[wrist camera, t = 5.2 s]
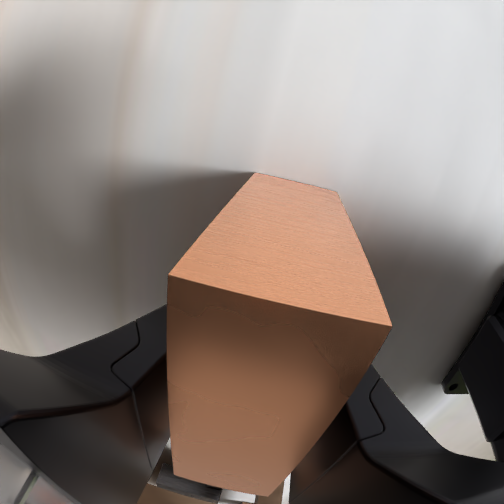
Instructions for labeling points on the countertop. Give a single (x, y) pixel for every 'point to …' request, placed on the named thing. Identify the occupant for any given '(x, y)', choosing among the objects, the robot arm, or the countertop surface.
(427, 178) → the countertop surface
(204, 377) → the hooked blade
